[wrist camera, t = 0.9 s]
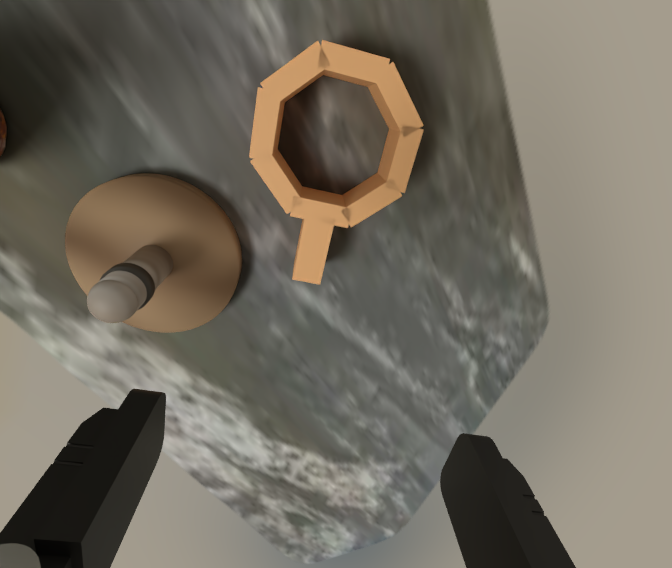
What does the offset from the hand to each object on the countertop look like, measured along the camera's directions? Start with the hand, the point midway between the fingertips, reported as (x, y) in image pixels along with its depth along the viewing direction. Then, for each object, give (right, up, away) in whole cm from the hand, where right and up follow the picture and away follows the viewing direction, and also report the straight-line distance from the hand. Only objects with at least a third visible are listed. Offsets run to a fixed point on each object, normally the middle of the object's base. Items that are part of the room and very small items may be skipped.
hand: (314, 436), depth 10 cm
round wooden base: (-12, +6, +16) cm, 21 cm away
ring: (0, +12, +14) cm, 18 cm away
